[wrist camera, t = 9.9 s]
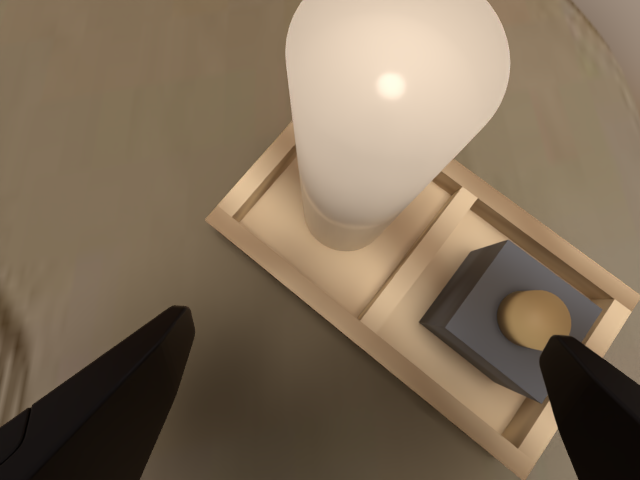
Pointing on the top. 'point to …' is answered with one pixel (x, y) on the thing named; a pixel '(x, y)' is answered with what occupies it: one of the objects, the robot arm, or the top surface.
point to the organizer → (440, 294)
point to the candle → (386, 103)
